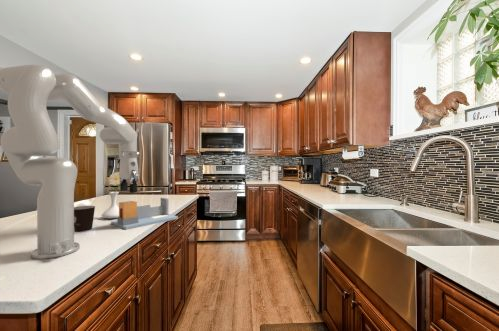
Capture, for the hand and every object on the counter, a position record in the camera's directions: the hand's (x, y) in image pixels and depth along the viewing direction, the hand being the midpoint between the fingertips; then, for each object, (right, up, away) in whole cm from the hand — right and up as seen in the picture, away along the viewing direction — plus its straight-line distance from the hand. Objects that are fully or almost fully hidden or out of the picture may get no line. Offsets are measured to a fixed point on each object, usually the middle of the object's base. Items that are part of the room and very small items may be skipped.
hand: (128, 191), depth 112 cm
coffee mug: (-17, -16, -6) cm, 25 cm away
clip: (0, -12, 0) cm, 12 cm away
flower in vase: (-16, -16, +16) cm, 27 cm away
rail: (+4, -16, +9) cm, 19 cm away
